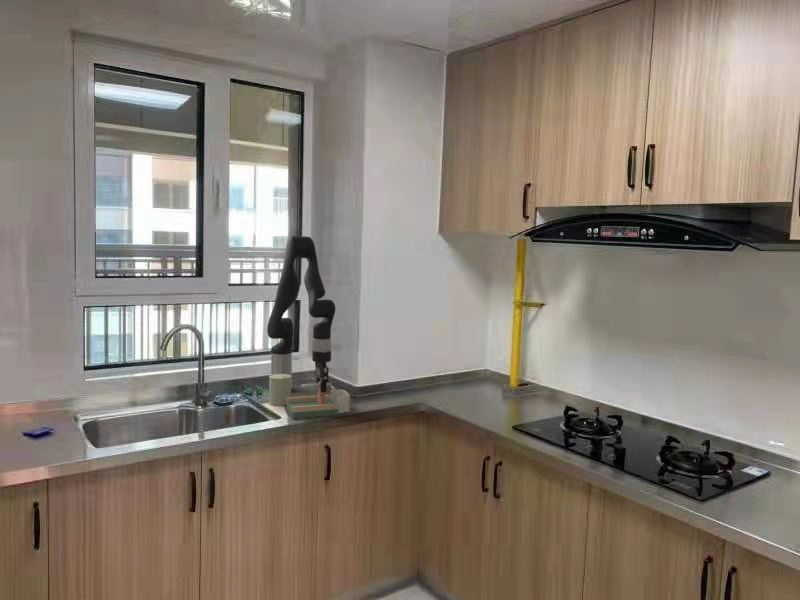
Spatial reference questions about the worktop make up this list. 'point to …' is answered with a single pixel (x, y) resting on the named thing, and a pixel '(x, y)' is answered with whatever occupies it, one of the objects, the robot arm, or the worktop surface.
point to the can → (279, 389)
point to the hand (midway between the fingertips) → (321, 389)
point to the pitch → (310, 407)
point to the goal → (341, 400)
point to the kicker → (320, 395)
